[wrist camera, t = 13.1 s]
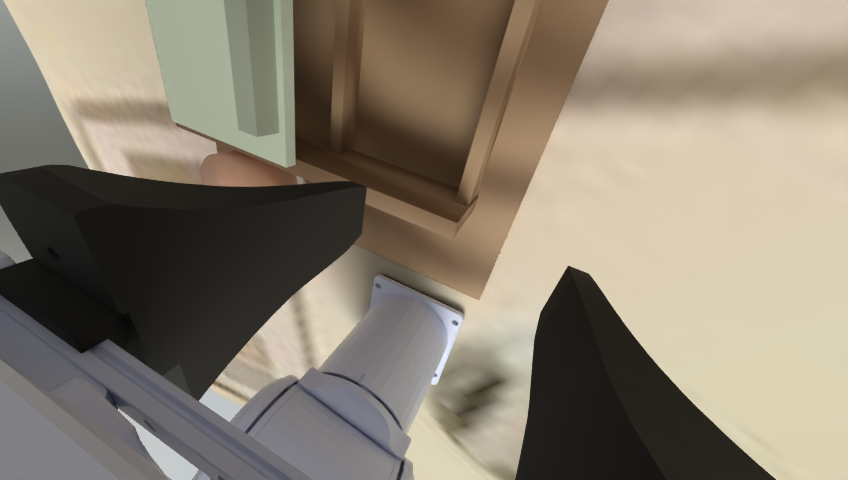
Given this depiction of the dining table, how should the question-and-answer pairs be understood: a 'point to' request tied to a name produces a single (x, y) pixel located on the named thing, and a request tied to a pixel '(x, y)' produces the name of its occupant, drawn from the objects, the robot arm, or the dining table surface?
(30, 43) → the dining table surface
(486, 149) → the brown wooden tray
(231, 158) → the tan domed cylinder
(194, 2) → the lid
